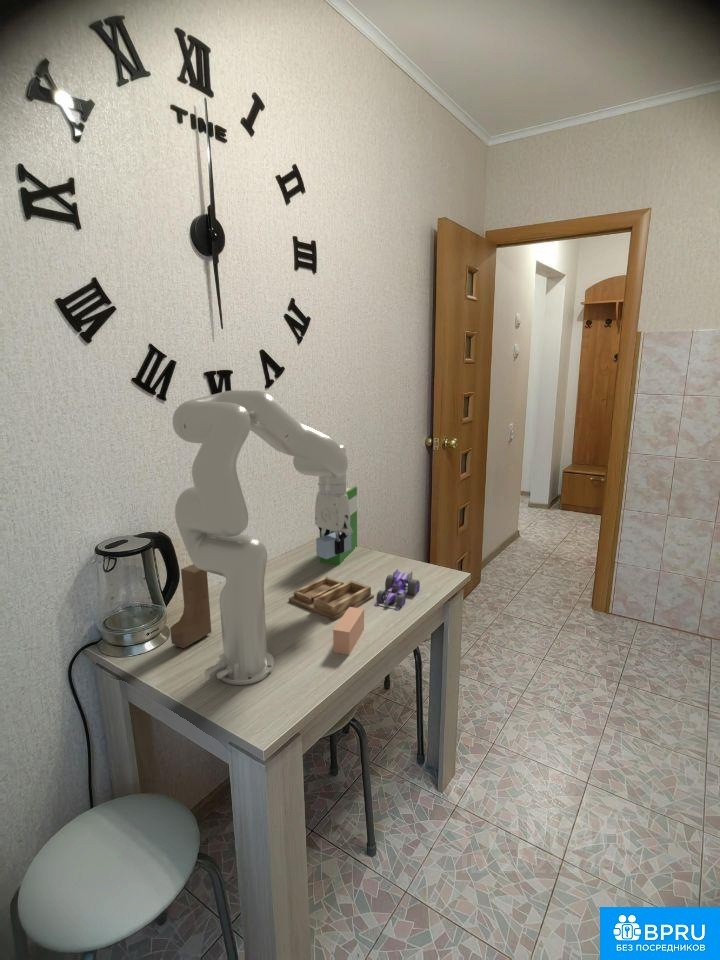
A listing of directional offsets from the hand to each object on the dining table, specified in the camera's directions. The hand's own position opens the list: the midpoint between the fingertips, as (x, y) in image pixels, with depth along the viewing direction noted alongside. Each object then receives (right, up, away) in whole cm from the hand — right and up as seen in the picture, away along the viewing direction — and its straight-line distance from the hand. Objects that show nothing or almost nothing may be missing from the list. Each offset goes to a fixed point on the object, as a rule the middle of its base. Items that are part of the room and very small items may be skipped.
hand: (333, 550), depth 139 cm
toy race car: (+18, -15, +5) cm, 24 cm away
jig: (-1, -15, +4) cm, 15 cm away
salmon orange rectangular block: (+5, -20, -18) cm, 27 cm away
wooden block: (-35, -20, -17) cm, 43 cm away
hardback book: (0, -8, +38) cm, 39 cm away
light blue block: (0, -1, 0) cm, 1 cm away
